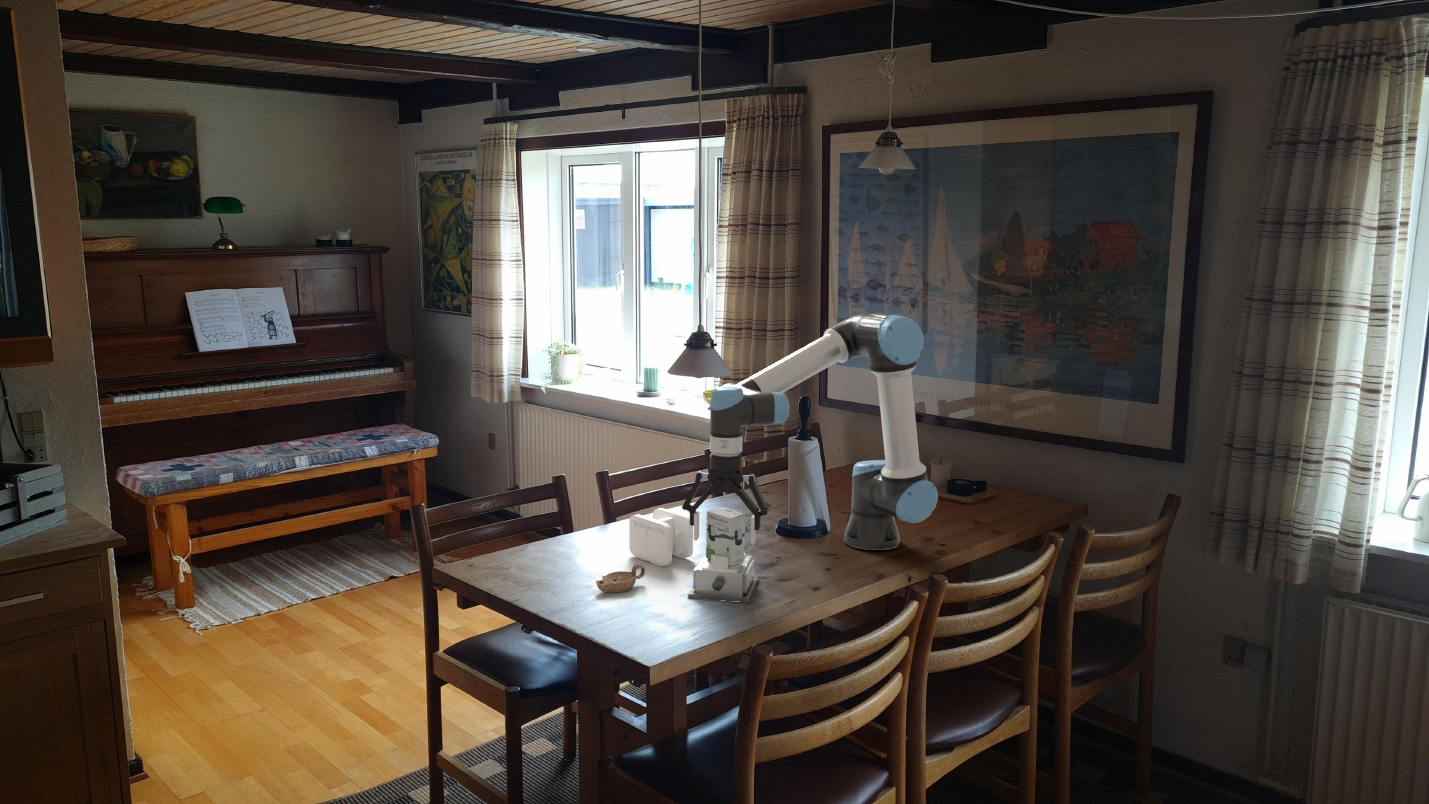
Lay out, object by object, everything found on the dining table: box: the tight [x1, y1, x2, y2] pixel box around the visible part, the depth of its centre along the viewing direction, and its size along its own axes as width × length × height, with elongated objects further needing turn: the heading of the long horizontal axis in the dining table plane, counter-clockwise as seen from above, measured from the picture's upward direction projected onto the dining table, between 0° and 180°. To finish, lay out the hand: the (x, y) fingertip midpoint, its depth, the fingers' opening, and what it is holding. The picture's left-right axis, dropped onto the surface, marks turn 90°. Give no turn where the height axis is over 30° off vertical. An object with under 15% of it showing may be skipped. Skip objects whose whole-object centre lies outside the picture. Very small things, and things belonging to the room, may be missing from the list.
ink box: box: [705, 506, 746, 566], centre depth 232 cm, size 9×5×12 cm, turn 44°
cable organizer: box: [628, 507, 694, 567], centre depth 254 cm, size 15×11×12 cm
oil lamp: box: [595, 563, 646, 593], centre depth 233 cm, size 13×8×5 cm, turn 125°
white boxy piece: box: [687, 552, 759, 603], centre depth 233 cm, size 14×16×10 cm
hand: (724, 541), depth 232 cm, fingers open, 13 cm apart
